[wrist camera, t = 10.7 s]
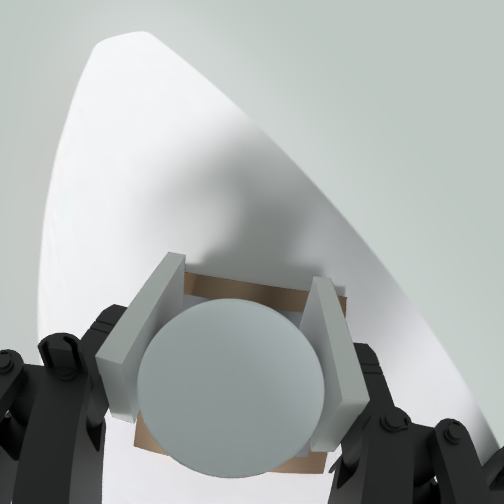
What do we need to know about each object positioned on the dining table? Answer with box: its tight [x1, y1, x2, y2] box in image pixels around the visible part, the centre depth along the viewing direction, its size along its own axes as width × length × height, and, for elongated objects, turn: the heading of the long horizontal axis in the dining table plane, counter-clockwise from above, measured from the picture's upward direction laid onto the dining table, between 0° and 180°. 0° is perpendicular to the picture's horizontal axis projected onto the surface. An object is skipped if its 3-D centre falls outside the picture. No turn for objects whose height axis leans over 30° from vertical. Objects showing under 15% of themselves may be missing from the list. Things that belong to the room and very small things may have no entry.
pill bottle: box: [137, 299, 325, 478], centre depth 10 cm, size 5×5×10 cm
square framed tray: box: [134, 272, 347, 474], centre depth 19 cm, size 14×14×4 cm
